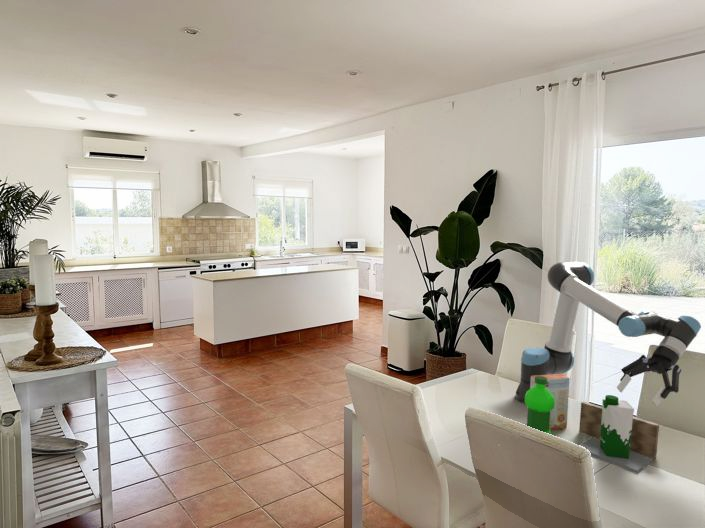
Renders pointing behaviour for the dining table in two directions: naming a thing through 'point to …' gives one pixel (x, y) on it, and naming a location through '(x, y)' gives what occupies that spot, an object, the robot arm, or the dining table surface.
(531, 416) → the plastic bottle
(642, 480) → the dining table surface
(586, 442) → the slate mat
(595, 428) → the walnut screen
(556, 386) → the cracker box
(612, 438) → the soya milk
